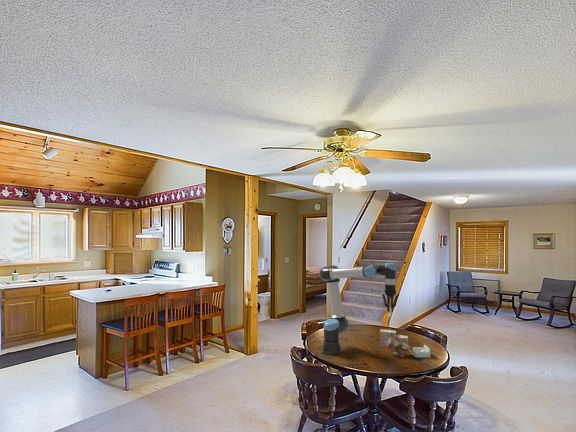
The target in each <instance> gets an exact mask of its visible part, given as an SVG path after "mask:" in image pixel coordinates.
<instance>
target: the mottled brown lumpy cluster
mask: <svg viewBox="0 0 576 432" xmlns="http://www.w3.org/2000/svg"><path fill="white" fill-rule="evenodd" d="M394 345H395V346H398V345H402V348H404V349H407V350H406V351H408V352H409V353H410V354H412V353H413V354H416V353H415V352H414V351H413V348H412V345H411V344H409V343H408V344H405V343H402V342H399V341H396V340H393V339H391V338H388V341H387V345H386V347H385V348H387V349H389V350H392V351H393V350H394V349H395V348H394ZM413 354H412V355H413Z"/></svg>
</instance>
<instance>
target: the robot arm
mask: <svg viewBox="0 0 576 432" xmlns="http://www.w3.org/2000/svg"><path fill="white" fill-rule="evenodd" d="M396 266H397V265H396V264H395V263H394V262H385V264H384V265H381V264H376V263H375V264H372V263H371V264H370V265H368V266H355V267H340V268H339V266H337V265H327V266H323V267H322V268H320V269H319V272H318V273H319V278H320V279H321V280H322V281H323V282H325V283H326V285H327V287H328V292H329V293H328V294H329V300H330V308H331V316H330V318H329V319H326V320H324V322H323V342H322V343H323V344H322V346H321V352H322V354H325V355H329V356H330V355H331V356H338V355H340V354H342V347H341V342H340V335H342V334H343V333H345V332H347V330H348V329H349V324H350V323H349V321H348V319H347V318H346V315H345V314H344V312H343V306H342V300H341V299H342V298H341V291H340V285H339V284H340V282H341V279H351V278H352V279H353V278H373V277H375V276H384V291H383V292H382V293H381V296H382V300H383V304H384V307H385V308H386V311H387V313H388V317H390V318H391V317H392V314H393V312H394V308H396V306H397V302H398V297H400V294H399V293H397V290H396V289H397V288H396V287H397V286H396V283H397V280H396V279H397V278H396V277H397V275H396V274H397V267H396Z"/></svg>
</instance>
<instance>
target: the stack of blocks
mask: <svg viewBox="0 0 576 432" xmlns="http://www.w3.org/2000/svg"><path fill="white" fill-rule="evenodd" d="M388 338H391V339H393V340H396V341H399V342H402V343H405V344H408V345H409V336H408V335H401V334H397V331H396V330H391V329H380V330H379V347H382V348H387V347H386V345H387V341H388ZM393 349H396V346H395V345H394V348H393ZM403 350H404V351H408V350H407V349H404V348H402V351H403Z"/></svg>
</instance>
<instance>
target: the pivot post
mask: <svg viewBox="0 0 576 432" xmlns="http://www.w3.org/2000/svg"><path fill="white" fill-rule="evenodd" d="M392 353H393V354H394V355H395V357H396V358H405V354H404V353H403V349H402V345H398V346H396V348H395V351H393V352H392Z"/></svg>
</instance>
